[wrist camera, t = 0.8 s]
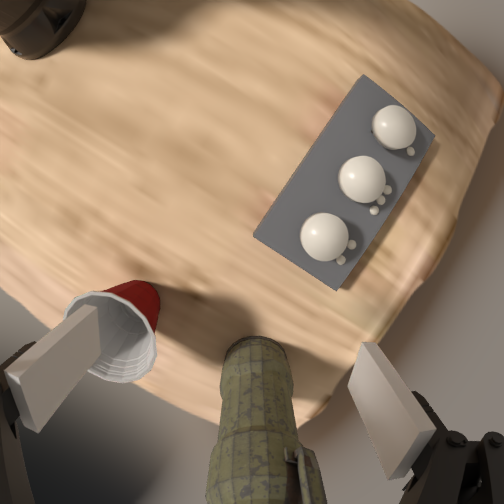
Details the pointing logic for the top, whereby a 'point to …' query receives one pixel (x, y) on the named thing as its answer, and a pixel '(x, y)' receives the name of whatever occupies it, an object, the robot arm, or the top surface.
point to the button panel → (327, 188)
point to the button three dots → (361, 179)
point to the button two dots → (324, 236)
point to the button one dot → (394, 127)
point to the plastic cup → (123, 329)
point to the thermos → (260, 433)
